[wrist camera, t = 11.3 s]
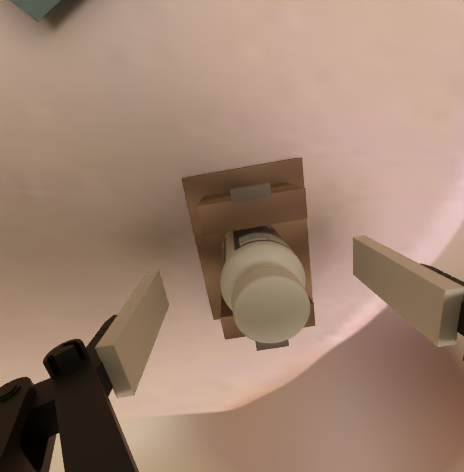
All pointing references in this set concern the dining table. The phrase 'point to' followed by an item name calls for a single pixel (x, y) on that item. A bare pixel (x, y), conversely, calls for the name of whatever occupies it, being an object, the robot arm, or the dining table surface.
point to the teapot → (36, 7)
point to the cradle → (248, 222)
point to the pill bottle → (263, 284)
